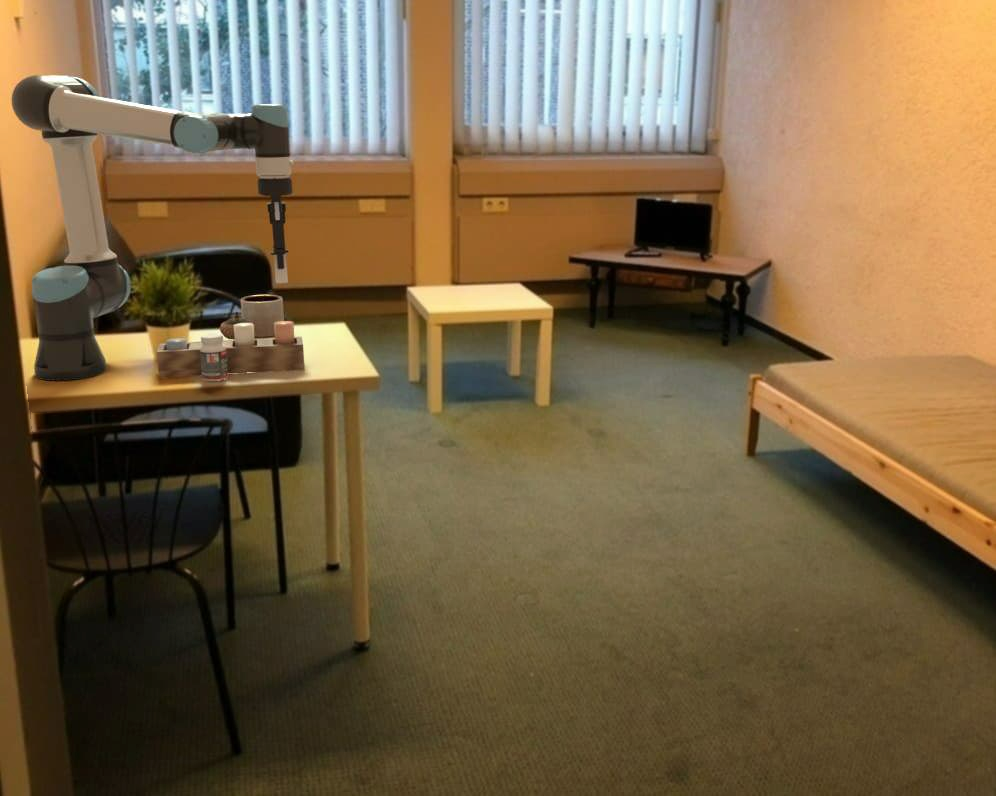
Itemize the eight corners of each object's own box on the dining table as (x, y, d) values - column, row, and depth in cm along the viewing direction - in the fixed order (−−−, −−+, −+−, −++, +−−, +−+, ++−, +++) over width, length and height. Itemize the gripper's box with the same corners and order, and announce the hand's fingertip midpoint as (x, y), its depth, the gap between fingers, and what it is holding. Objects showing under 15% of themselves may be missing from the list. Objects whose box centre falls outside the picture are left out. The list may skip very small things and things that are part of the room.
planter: (250, 328, 273) (248, 293, 270) (290, 329, 272) (287, 294, 269) (236, 338, 262) (234, 301, 260) (277, 339, 261) (275, 302, 259)
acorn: (215, 351, 249) (212, 311, 246) (244, 345, 255) (241, 306, 252) (234, 356, 243) (230, 316, 241) (263, 350, 249) (260, 311, 246)
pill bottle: (228, 381, 223) (225, 337, 220) (202, 383, 221) (198, 339, 218) (228, 374, 228) (224, 331, 225) (201, 376, 227) (198, 333, 224)
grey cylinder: (167, 367, 227) (165, 343, 225) (169, 362, 231) (166, 338, 229) (187, 366, 228) (185, 342, 226) (189, 361, 232) (186, 337, 230)
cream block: (235, 351, 229) (233, 327, 228) (235, 346, 233) (233, 323, 232) (255, 350, 230) (253, 326, 229) (255, 345, 234) (253, 322, 233)
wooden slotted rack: (159, 377, 225) (156, 351, 224) (162, 368, 233) (159, 343, 231) (304, 369, 232) (303, 344, 230) (303, 361, 240) (301, 336, 238)
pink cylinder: (275, 349, 231) (274, 325, 230) (275, 344, 235) (273, 321, 234) (295, 348, 232) (293, 324, 230) (294, 343, 236) (293, 320, 235)
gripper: (292, 178, 217) (299, 286, 224) (290, 174, 229) (297, 277, 236) (256, 179, 216) (265, 288, 222) (257, 175, 228) (264, 278, 235)
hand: (281, 282), depth 229 cm, fingers closed
